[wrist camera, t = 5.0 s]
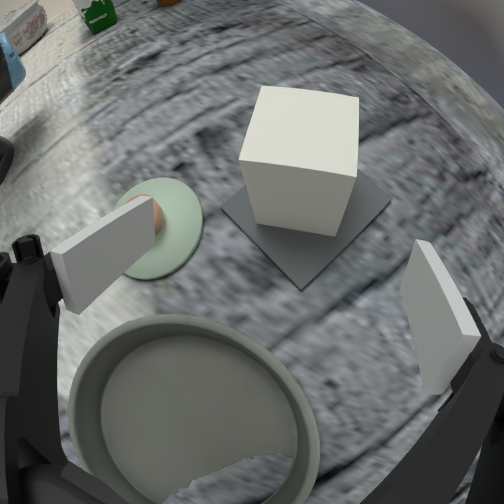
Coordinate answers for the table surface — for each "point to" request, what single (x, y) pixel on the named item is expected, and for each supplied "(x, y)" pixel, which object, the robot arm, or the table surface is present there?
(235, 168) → the table surface
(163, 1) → the disposable coffee cup
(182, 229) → the plate
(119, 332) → the hoop
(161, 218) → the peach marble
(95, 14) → the milk carton
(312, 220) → the white upright block
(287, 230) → the mat
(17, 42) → the chamber pot
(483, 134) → the table surface
